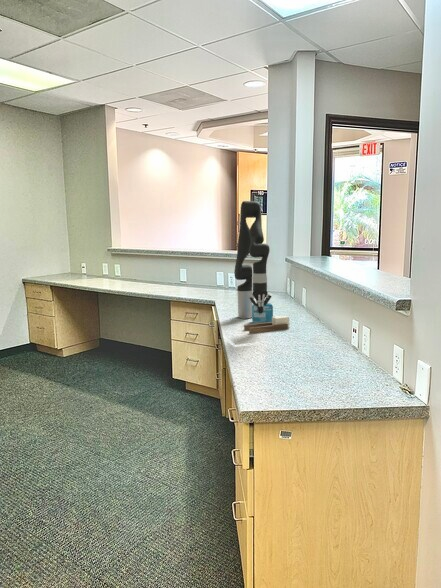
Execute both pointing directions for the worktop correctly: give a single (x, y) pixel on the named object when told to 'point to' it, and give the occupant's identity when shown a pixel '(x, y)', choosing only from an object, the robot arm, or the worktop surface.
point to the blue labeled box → (262, 314)
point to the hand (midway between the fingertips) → (260, 313)
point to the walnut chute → (264, 327)
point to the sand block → (280, 320)
